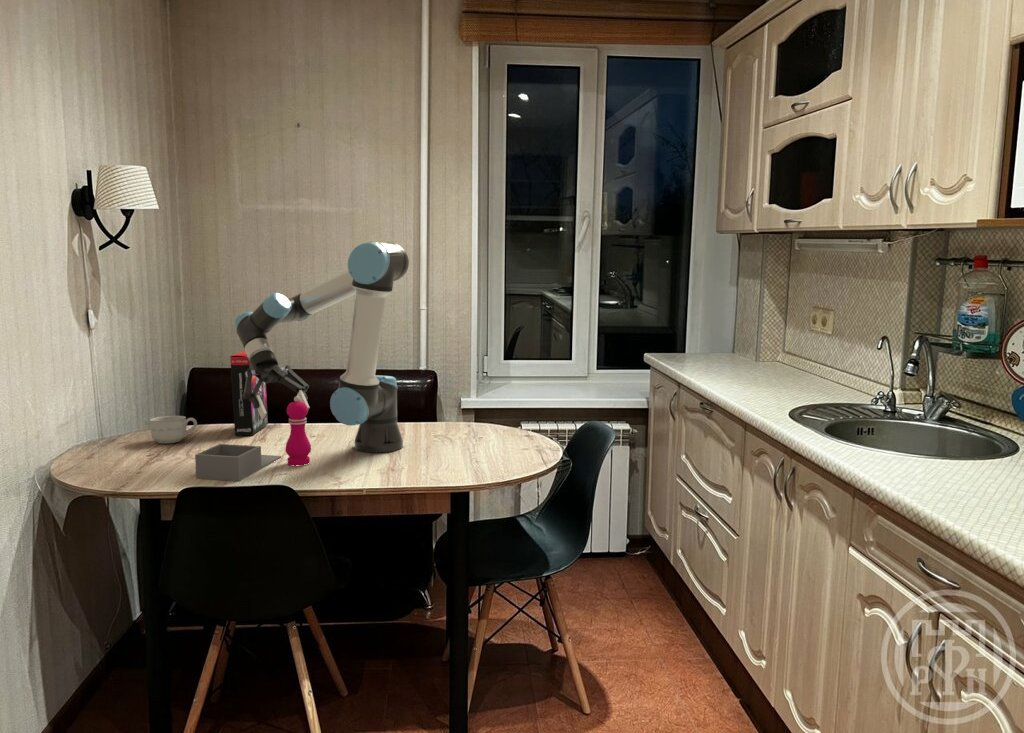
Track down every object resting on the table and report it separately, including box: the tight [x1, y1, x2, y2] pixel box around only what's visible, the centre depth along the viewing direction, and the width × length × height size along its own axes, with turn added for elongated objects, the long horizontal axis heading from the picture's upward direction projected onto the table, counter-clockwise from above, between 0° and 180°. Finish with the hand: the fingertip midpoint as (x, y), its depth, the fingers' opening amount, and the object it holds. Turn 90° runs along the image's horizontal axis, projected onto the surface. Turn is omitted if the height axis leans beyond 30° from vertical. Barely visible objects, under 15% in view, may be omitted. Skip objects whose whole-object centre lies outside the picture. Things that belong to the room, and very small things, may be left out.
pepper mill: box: [285, 395, 312, 467], centre depth 235 cm, size 7×7×20 cm
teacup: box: [149, 415, 198, 444], centre depth 260 cm, size 14×11×8 cm
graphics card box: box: [230, 349, 269, 437], centre depth 275 cm, size 17×7×27 cm, turn 0°
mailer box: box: [194, 443, 282, 482], centre depth 230 cm, size 13×25×7 cm, turn 170°
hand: (286, 413), depth 237 cm, fingers open, 13 cm apart
